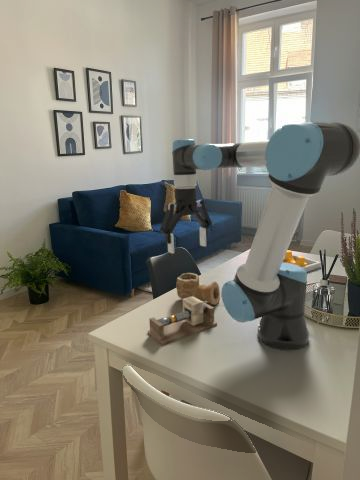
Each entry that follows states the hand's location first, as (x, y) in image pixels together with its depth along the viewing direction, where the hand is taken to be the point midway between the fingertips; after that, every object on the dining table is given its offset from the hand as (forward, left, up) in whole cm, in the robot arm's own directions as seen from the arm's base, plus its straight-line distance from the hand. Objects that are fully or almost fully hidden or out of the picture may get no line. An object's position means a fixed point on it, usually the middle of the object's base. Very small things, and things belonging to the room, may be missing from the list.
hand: (187, 249), depth 126 cm
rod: (-11, +10, -19) cm, 24 cm away
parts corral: (+7, -68, -23) cm, 72 cm away
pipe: (+3, -6, -23) cm, 24 cm away
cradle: (-11, +10, -23) cm, 27 cm away
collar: (-11, +6, -21) cm, 24 cm away
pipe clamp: (+7, -68, -23) cm, 72 cm away
